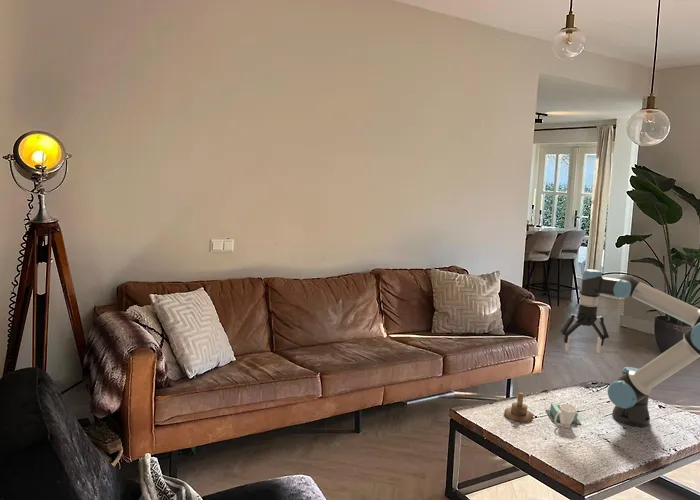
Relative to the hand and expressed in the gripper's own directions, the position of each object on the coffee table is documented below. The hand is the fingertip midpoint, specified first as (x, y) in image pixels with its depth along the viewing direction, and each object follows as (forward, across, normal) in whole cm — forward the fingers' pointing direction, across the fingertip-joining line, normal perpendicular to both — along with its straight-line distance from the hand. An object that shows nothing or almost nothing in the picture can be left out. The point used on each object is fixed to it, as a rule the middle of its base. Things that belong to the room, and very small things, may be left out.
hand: (582, 351), depth 260 cm
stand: (+29, +27, +10) cm, 41 cm away
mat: (+29, +7, +7) cm, 30 cm away
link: (+28, +7, +7) cm, 30 cm away
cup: (+29, +10, +15) cm, 34 cm away
